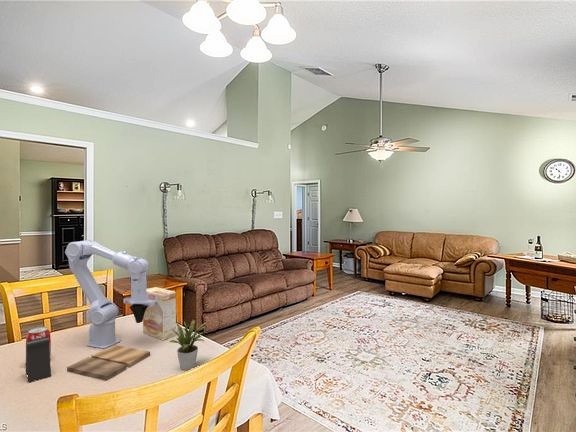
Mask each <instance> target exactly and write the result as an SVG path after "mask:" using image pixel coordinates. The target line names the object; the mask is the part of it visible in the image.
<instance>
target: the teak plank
mask: <svg viewBox="0 0 576 432" xmlns="http://www.w3.org/2000/svg"><path fill="white" fill-rule="evenodd" d="M150 356H151V351H149V350H144V349H140V348H139V349H138V348H134V347H133V348H132V347H129V346H128V347H127V346H123V345H117V344H114V345H112V346H109V347H107V348H105V349H102V350H100V351H97V352H96V353H94V354H92V355H91V356H90V357H91V358H96V359H100V360H105V361H110V362H115V363H119V364H124V365H126V368H131V367H132V366H135V365H137V364H138V363H140V362H141V361H143V360H145V359H147V358H148V357H150Z"/></svg>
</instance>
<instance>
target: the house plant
mask: <svg viewBox="0 0 576 432" xmlns="http://www.w3.org/2000/svg"><path fill="white" fill-rule="evenodd" d="M183 322H184V328H182V326H181V325H180V324H179V323H178V322H177V321H176V322H175V323H176V328H177V330H178V332H179V333H178V332H177V330H176V331H174V330H172V329H171V330H172V331H174V332H175V334H176V336H177V337H176V340H175V339H172V340H170V341H169V343H175V344H179V345H180V347H179V348H177V350H176V353H177V357H178V363H179V368H180V370H183V371H190V370H192V369H191V368H193V369H194V368H195V367H196V364H197V359H198V358H197V357H198V353H199V352H198V351H199V347H198V346H197V345H196V344H195V343H196V342H197V341H199V342H201V341H202V342H205V339H202V338H201V337H202V334H204V333H205V332H204V331H203V332H199V331H200V330H202V329H206V326H205V325H206V324H207V323H209V322H205V323H202V324H201V325H199V326H198V327H197V328H196V329H194V328H195V323H196V320H194V319H192V321H191V322H190V325H189V329H188V325H187V324H186V321H185V320H183ZM189 369H190V370H189Z"/></svg>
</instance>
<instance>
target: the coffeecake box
mask: <svg viewBox="0 0 576 432" xmlns="http://www.w3.org/2000/svg"><path fill="white" fill-rule="evenodd" d="M176 293H177V292H176V291H175V290H170V289H166V288H161V287H157V286H154V287H150V288H147V299H150V300H153V301H155V306H153V307H150V306H148V307H147V309H146V311H145V314H144V317H143V321H142V324H143V325H142V328H143V329H142V333H143V334H144V335H147V336H151V337H153V338H155V339H158V340H160V341H165V339H166V340H167V338H168V339H170V338H173V337H175V335H176V336H177V334H175V332H174V331H176V332H177V325H176V323H177V304H176V303H177V302H176V301H177V297H176V295H177V294H176ZM175 322H176V323H175ZM171 329H172V330H174V331H172V330H171Z"/></svg>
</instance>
